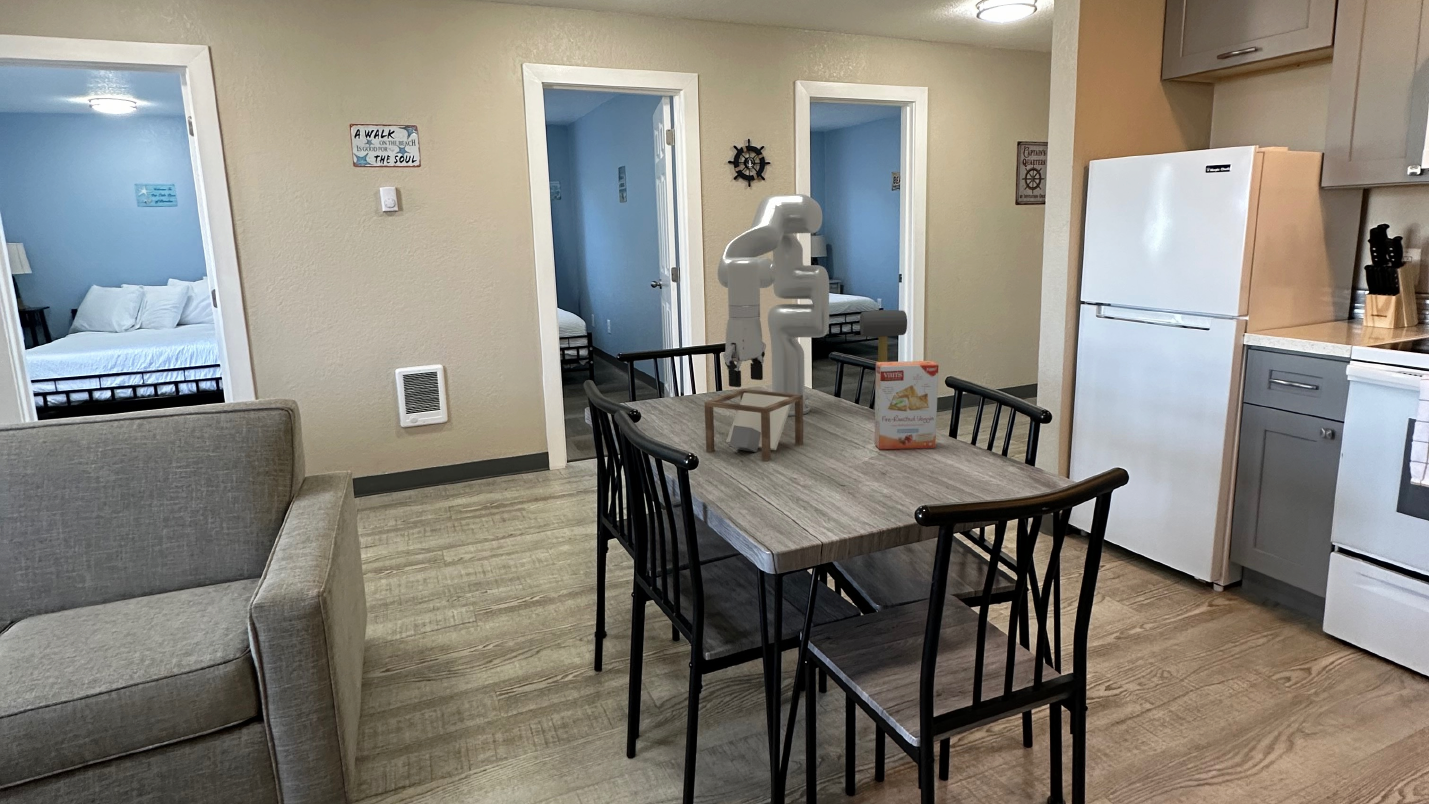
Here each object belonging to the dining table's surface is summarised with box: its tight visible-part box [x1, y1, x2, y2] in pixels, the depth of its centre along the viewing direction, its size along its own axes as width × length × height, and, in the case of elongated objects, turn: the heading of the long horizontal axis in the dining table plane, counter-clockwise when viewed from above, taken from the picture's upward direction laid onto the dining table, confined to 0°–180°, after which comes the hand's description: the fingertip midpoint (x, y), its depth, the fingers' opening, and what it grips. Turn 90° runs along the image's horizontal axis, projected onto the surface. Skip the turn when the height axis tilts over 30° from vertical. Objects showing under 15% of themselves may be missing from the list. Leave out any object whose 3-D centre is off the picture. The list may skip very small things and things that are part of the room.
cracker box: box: [874, 360, 939, 450], centre depth 197 cm, size 14×6×21 cm, turn 91°
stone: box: [729, 425, 761, 453], centre depth 198 cm, size 5×5×5 cm
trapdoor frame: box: [704, 388, 804, 462], centre depth 201 cm, size 18×18×12 cm
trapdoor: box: [725, 393, 791, 451], centre depth 203 cm, size 14×14×1 cm
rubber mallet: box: [859, 309, 908, 362], centre depth 228 cm, size 12×8×30 cm, turn 90°
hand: (746, 383), depth 196 cm, fingers open, 9 cm apart
